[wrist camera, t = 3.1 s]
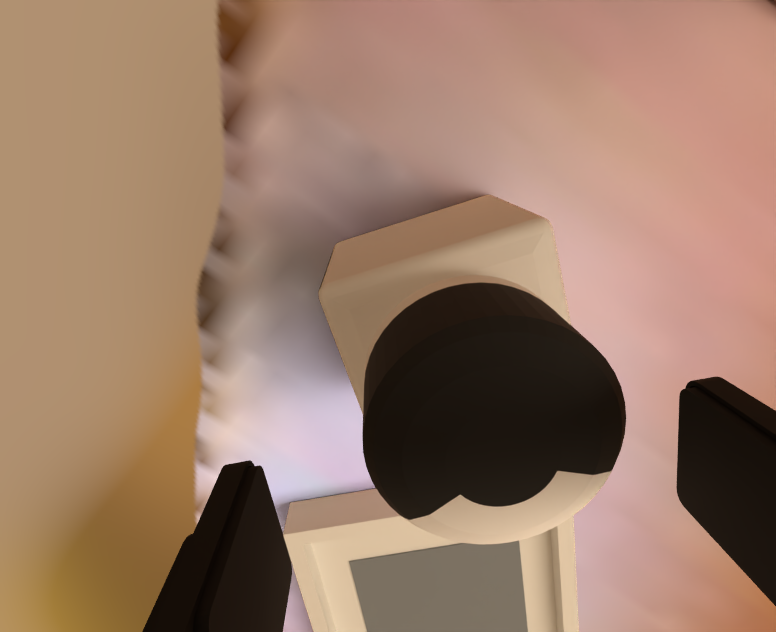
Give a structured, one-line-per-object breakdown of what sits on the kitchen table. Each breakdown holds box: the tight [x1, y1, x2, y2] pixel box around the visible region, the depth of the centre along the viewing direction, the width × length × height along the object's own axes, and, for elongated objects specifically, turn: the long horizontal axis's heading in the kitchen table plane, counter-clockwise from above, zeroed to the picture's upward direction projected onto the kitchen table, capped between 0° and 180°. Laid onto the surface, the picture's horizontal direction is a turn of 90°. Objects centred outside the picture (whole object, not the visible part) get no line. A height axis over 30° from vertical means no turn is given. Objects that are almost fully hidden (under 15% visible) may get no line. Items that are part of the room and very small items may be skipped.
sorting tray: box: [283, 489, 579, 632], centre depth 27 cm, size 16×14×2 cm
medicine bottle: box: [318, 195, 626, 544], centre depth 16 cm, size 7×7×12 cm
